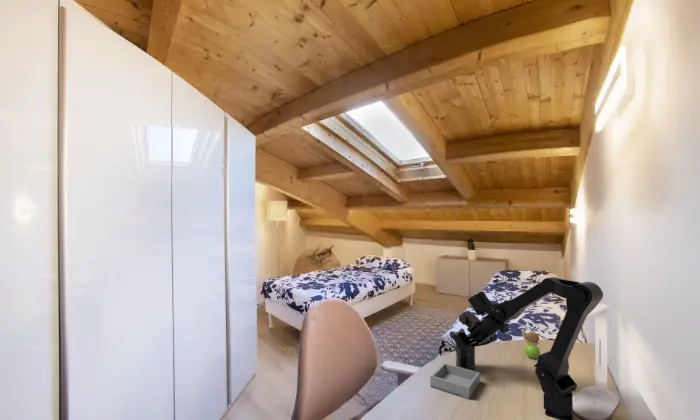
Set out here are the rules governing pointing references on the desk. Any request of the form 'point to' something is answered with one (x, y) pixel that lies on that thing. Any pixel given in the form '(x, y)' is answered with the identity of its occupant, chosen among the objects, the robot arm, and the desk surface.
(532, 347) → the snail figurine
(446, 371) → the box
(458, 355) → the supplement bottle
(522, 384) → the desk surface
